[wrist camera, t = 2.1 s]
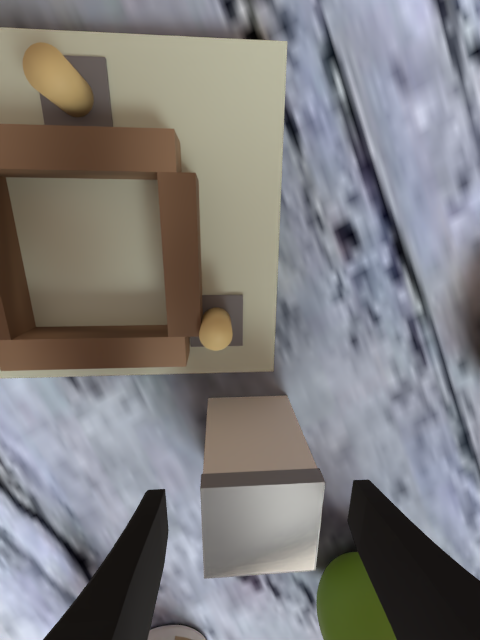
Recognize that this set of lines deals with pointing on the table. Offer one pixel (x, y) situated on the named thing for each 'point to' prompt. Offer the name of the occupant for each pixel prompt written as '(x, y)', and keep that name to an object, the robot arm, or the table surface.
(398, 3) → the table surface
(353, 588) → the snail figurine
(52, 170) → the socket collar
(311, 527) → the plug block
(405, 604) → the robot arm
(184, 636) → the pill bottle
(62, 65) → the board
